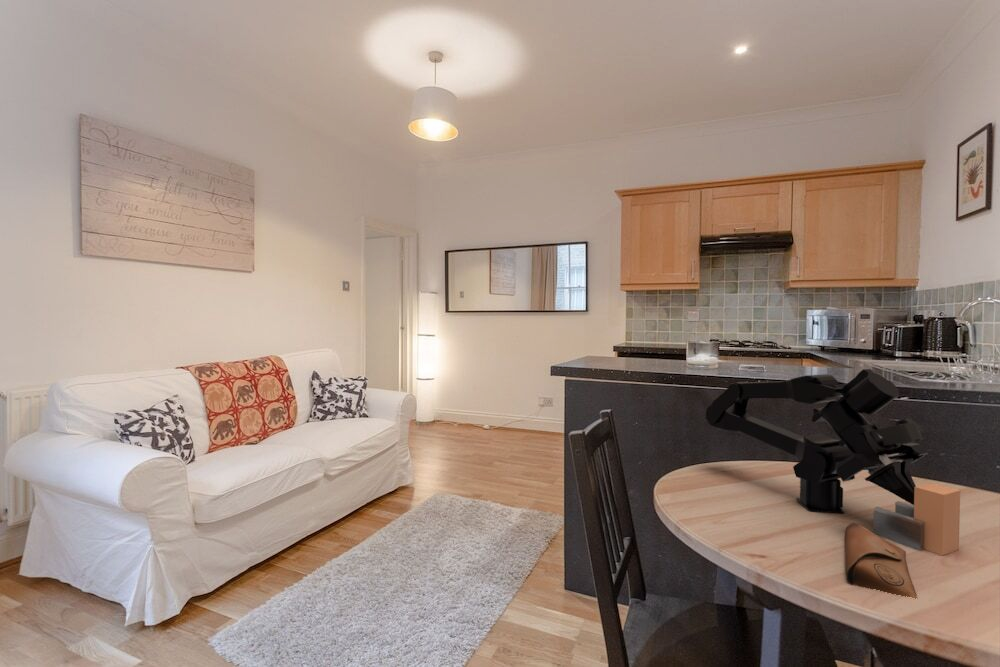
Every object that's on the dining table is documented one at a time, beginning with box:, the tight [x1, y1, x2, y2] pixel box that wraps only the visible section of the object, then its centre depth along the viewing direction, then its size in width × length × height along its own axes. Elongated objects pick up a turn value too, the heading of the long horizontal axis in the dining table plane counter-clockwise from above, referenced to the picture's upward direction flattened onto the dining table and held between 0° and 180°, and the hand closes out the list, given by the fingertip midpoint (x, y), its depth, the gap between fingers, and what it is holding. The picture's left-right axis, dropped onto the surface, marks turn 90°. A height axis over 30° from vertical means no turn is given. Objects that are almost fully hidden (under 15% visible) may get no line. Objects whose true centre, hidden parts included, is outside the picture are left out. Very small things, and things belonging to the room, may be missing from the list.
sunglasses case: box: [844, 522, 918, 600], centre depth 76 cm, size 18×7×7 cm
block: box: [914, 482, 961, 557], centre depth 81 cm, size 4×5×10 cm
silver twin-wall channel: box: [872, 500, 925, 552], centre depth 84 cm, size 7×8×5 cm
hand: (920, 505), depth 83 cm, fingers closed, pressing on block
